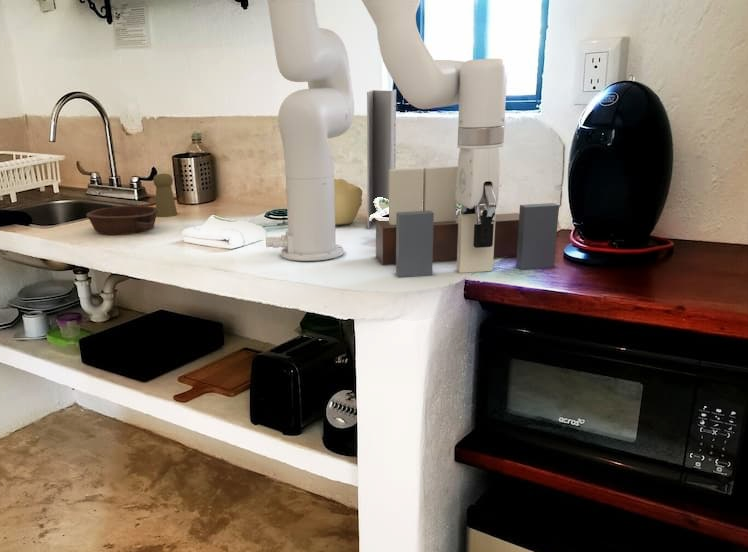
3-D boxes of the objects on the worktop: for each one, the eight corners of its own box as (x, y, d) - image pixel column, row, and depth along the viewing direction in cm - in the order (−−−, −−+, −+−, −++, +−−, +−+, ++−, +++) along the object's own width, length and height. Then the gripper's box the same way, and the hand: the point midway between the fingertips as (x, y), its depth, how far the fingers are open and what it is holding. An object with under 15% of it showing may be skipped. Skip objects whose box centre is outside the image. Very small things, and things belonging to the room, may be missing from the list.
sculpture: (369, 222, 187) (368, 176, 183) (339, 230, 179) (338, 183, 175) (331, 218, 194) (330, 174, 190) (301, 226, 186) (299, 181, 182)
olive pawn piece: (155, 213, 215) (151, 173, 211) (177, 212, 216) (173, 172, 212) (155, 217, 210) (150, 175, 206) (177, 215, 210) (173, 174, 206)
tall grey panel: (391, 228, 178) (392, 90, 167) (367, 228, 179) (366, 92, 168) (395, 217, 191) (396, 89, 180) (372, 218, 192) (372, 90, 181)
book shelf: (382, 265, 145) (382, 228, 143) (375, 257, 152) (375, 221, 149) (528, 255, 146) (530, 219, 144) (515, 248, 153) (517, 212, 150)
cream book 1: (390, 225, 145) (390, 170, 142) (388, 223, 147) (388, 169, 143) (422, 223, 145) (423, 168, 142) (419, 221, 147) (420, 167, 144)
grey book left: (398, 277, 136) (399, 214, 132) (395, 273, 139) (396, 212, 135) (432, 275, 136) (433, 212, 132) (428, 271, 139) (430, 210, 135)
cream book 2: (424, 223, 145) (425, 168, 142) (422, 221, 147) (423, 167, 144) (456, 221, 146) (457, 166, 142) (453, 219, 147) (454, 165, 144)
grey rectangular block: (520, 269, 137) (525, 207, 133) (515, 266, 139) (519, 204, 136) (554, 267, 137) (559, 205, 133) (548, 264, 140) (553, 202, 136)
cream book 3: (459, 272, 137) (461, 216, 133) (456, 270, 139) (458, 214, 135) (492, 270, 137) (495, 214, 134) (489, 268, 139) (492, 212, 135)
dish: (121, 241, 180) (118, 220, 178) (70, 232, 194) (67, 212, 193) (179, 229, 191) (177, 208, 189) (127, 221, 206) (125, 202, 204)
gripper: (444, 135, 138) (442, 234, 144) (474, 143, 121) (469, 254, 128) (486, 133, 138) (481, 232, 144) (520, 140, 122) (513, 251, 128)
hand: (475, 241), depth 136 cm, fingers open, 7 cm apart
